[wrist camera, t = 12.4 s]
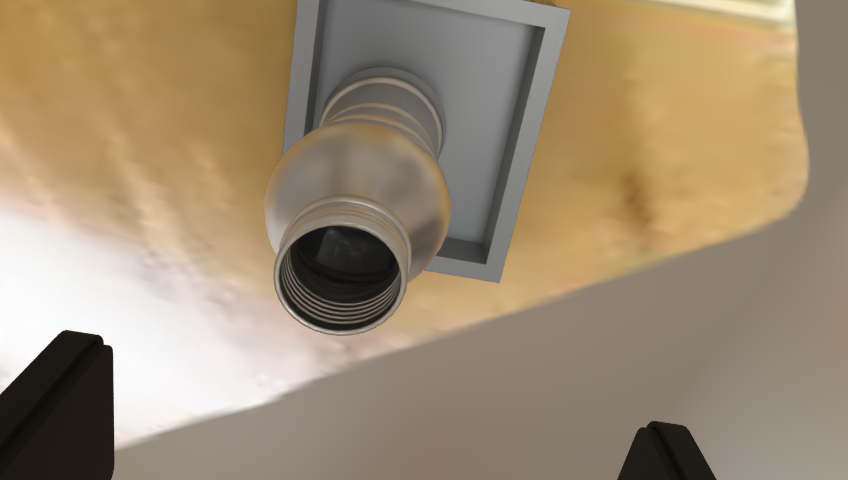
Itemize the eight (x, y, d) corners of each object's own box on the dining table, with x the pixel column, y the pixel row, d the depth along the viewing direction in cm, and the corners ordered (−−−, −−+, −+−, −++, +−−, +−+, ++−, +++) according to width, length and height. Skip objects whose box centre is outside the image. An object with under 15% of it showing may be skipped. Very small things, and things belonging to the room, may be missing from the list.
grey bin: (316, -44, 33) (302, -45, 30) (555, 5, 34) (571, 10, 31) (287, 218, 39) (272, 244, 36) (492, 254, 40) (499, 283, 36)
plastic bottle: (460, 153, 36) (493, 341, 18) (351, 189, 37) (277, 404, 19) (423, 42, 34) (418, 130, 16) (307, 84, 35) (174, 213, 17)
